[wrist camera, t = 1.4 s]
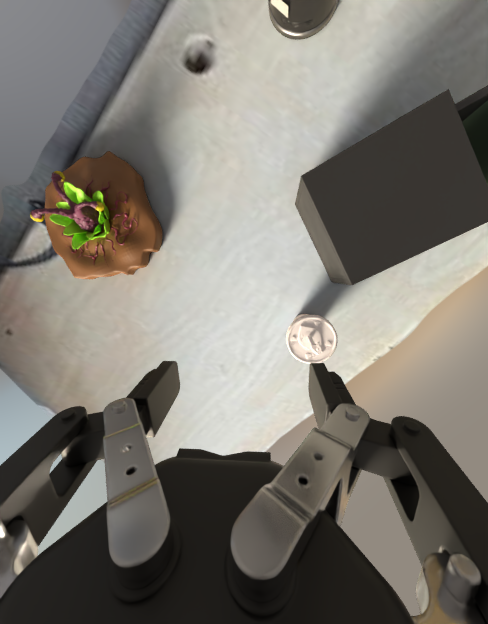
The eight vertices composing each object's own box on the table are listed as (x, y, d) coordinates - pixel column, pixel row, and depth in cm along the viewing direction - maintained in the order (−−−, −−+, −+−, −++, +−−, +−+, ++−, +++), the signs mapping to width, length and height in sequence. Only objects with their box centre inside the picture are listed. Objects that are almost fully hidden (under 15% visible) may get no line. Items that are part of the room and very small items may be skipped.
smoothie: (309, 298, 38) (326, 310, 25) (331, 329, 39) (360, 359, 25) (277, 319, 40) (275, 343, 26) (298, 350, 40) (308, 389, 26)
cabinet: (395, 146, 33) (448, 88, 23) (433, 233, 34) (500, 216, 24) (294, 204, 36) (301, 175, 26) (331, 282, 37) (352, 285, 27)
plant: (39, 189, 42) (-44, 160, 31) (130, 142, 39) (72, 90, 28) (83, 294, 44) (19, 301, 33) (173, 259, 41) (134, 253, 30)
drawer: (499, 91, 30) (587, 18, 21) (534, 181, 31) (632, 145, 22) (356, 172, 34) (383, 137, 25) (391, 250, 35) (428, 242, 26)
